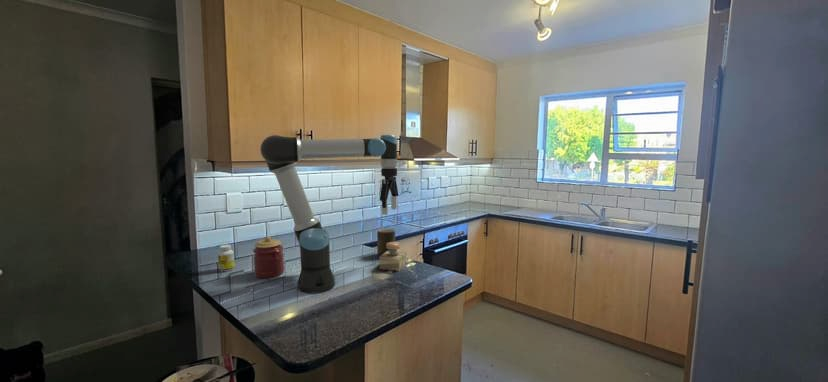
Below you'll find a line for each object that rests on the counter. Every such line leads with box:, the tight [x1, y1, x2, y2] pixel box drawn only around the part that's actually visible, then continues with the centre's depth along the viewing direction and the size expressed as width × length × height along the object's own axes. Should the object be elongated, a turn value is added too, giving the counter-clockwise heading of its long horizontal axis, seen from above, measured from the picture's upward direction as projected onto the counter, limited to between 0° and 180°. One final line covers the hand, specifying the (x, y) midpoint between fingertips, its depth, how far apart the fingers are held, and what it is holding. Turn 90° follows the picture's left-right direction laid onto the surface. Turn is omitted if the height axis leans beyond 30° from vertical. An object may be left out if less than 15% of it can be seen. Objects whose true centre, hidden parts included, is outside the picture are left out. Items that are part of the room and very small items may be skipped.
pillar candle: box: [376, 228, 396, 258], centre depth 187 cm, size 10×10×15 cm
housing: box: [378, 251, 407, 272], centre depth 169 cm, size 10×10×6 cm
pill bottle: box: [217, 244, 235, 272], centre depth 165 cm, size 6×6×12 cm
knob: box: [386, 241, 400, 257], centre depth 169 cm, size 6×6×8 cm
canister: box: [252, 235, 285, 279], centre depth 160 cm, size 13×13×18 cm
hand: (389, 211), depth 168 cm, fingers open, 13 cm apart
